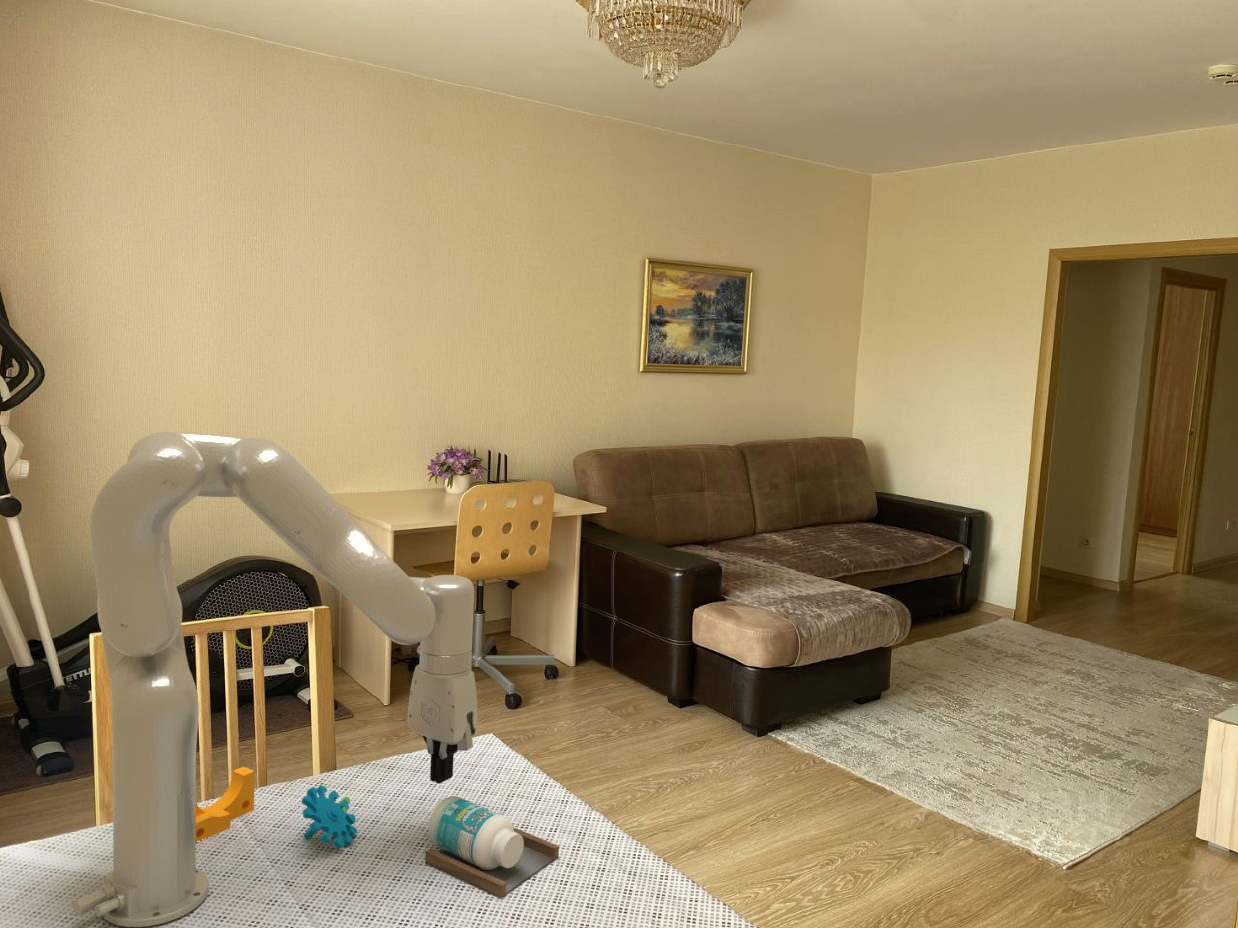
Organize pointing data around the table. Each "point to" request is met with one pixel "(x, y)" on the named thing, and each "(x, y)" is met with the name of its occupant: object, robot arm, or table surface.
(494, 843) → the pill bottle
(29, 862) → the table surface
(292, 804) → the table surface
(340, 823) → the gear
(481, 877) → the cradle
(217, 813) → the pipe clamp
